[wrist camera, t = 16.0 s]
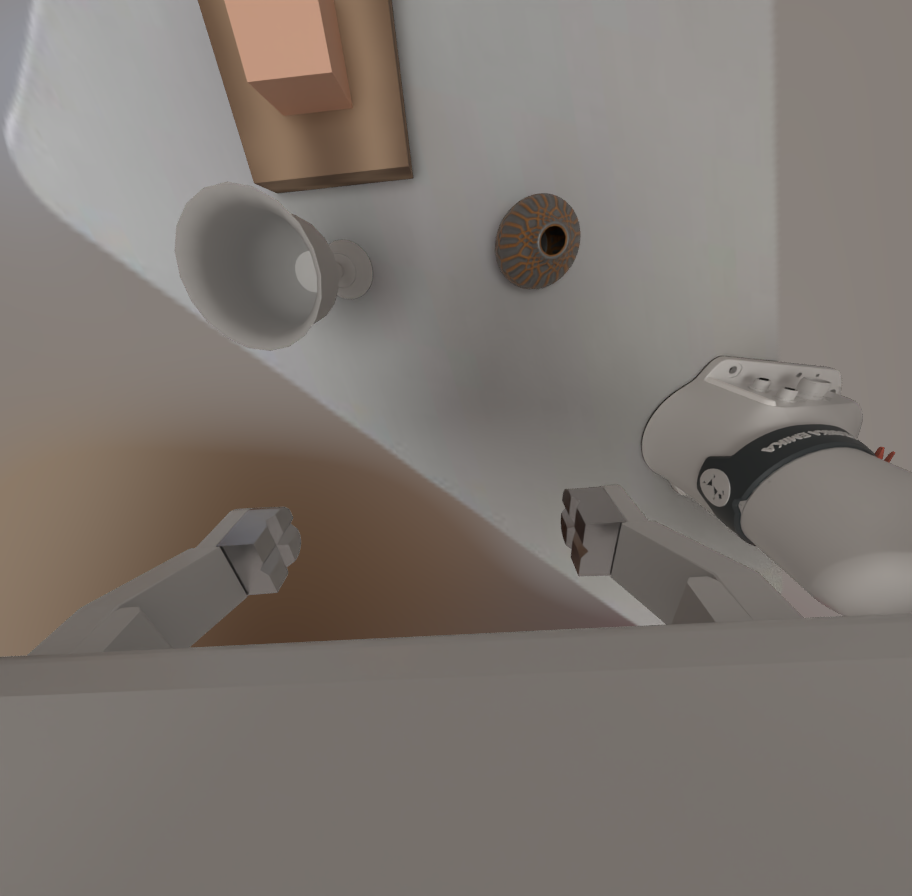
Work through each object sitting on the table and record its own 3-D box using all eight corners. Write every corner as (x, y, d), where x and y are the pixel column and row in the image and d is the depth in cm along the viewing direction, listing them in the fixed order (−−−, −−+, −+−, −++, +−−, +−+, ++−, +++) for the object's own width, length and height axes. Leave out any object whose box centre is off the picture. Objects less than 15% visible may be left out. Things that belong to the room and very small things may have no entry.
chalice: (314, 213, 30) (167, 154, 14) (389, 240, 31) (331, 215, 15) (306, 298, 33) (180, 328, 17) (373, 320, 34) (313, 366, 18)
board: (386, -42, 23) (375, -97, 19) (413, 178, 29) (408, 166, 25) (216, -21, 23) (175, -72, 20) (277, 193, 29) (254, 183, 25)
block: (333, 1, 21) (304, -68, 17) (352, 107, 24) (331, 72, 19) (257, 10, 21) (208, -56, 17) (283, 115, 24) (247, 82, 19)
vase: (526, 182, 29) (555, 152, 21) (578, 239, 31) (621, 231, 24) (476, 253, 32) (486, 249, 24) (527, 301, 34) (551, 312, 26)
